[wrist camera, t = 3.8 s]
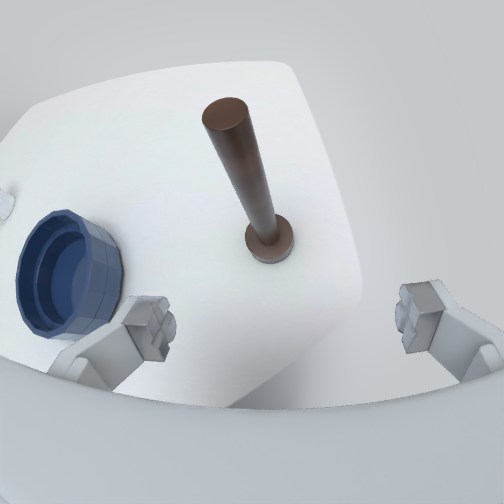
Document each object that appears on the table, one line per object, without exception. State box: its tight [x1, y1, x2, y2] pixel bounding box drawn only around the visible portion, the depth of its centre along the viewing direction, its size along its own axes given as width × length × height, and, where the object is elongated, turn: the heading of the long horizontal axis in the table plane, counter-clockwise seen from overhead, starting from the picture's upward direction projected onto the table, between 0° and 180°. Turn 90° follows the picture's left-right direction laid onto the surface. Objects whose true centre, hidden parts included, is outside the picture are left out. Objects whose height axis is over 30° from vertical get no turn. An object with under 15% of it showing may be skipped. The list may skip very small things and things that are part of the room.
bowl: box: [15, 209, 122, 341], centre depth 28 cm, size 14×14×6 cm
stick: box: [202, 97, 293, 264], centre depth 19 cm, size 4×4×18 cm
